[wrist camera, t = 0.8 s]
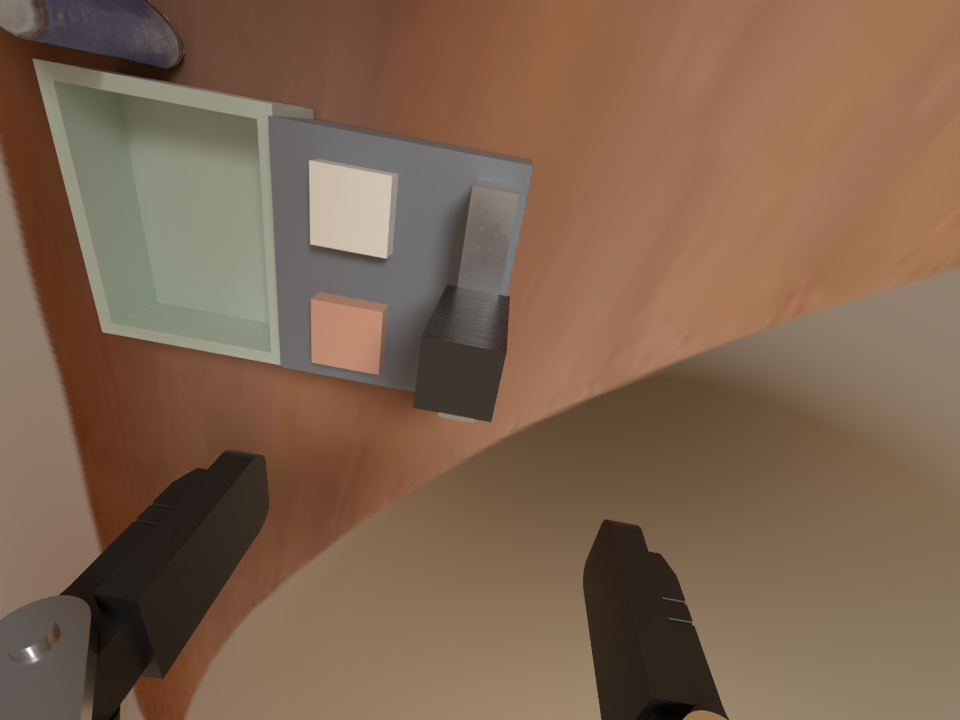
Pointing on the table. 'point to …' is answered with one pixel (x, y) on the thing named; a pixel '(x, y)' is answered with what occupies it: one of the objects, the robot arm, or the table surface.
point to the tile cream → (352, 208)
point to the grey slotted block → (417, 235)
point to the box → (170, 206)
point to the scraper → (471, 316)
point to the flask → (97, 28)
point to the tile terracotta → (348, 332)
